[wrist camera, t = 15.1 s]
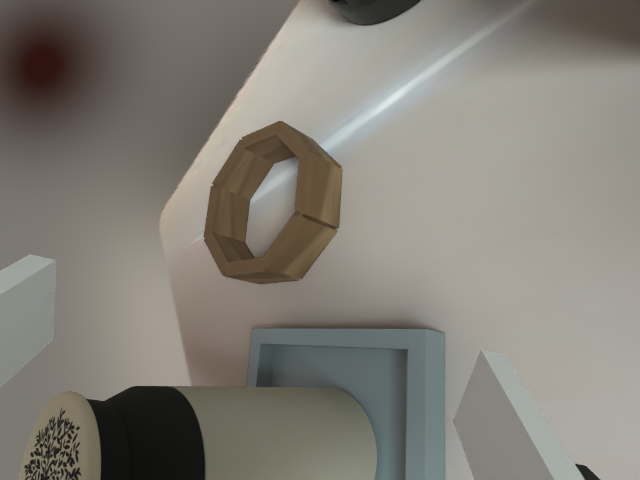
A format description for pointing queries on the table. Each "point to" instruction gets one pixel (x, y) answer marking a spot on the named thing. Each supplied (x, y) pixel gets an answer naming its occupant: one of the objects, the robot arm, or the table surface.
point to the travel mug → (203, 436)
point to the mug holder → (303, 227)
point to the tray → (369, 386)
